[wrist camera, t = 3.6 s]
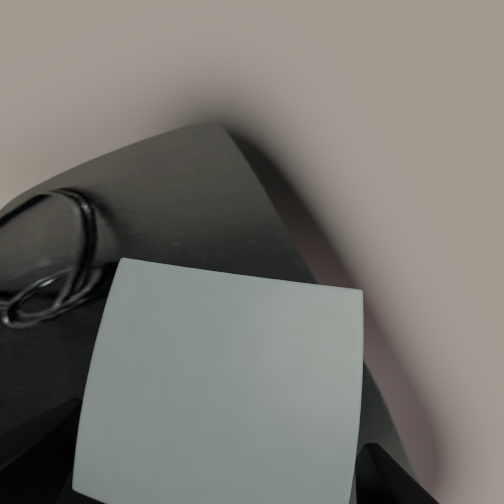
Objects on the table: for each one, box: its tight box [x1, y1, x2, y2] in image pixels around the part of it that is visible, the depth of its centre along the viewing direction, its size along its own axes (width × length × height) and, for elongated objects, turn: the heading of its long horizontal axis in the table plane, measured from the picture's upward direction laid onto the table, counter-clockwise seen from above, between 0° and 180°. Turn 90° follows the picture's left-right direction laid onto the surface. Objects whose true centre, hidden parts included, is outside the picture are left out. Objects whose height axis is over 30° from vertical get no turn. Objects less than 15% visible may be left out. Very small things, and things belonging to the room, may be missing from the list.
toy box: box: [72, 258, 363, 504], centre depth 11 cm, size 6×6×12 cm
